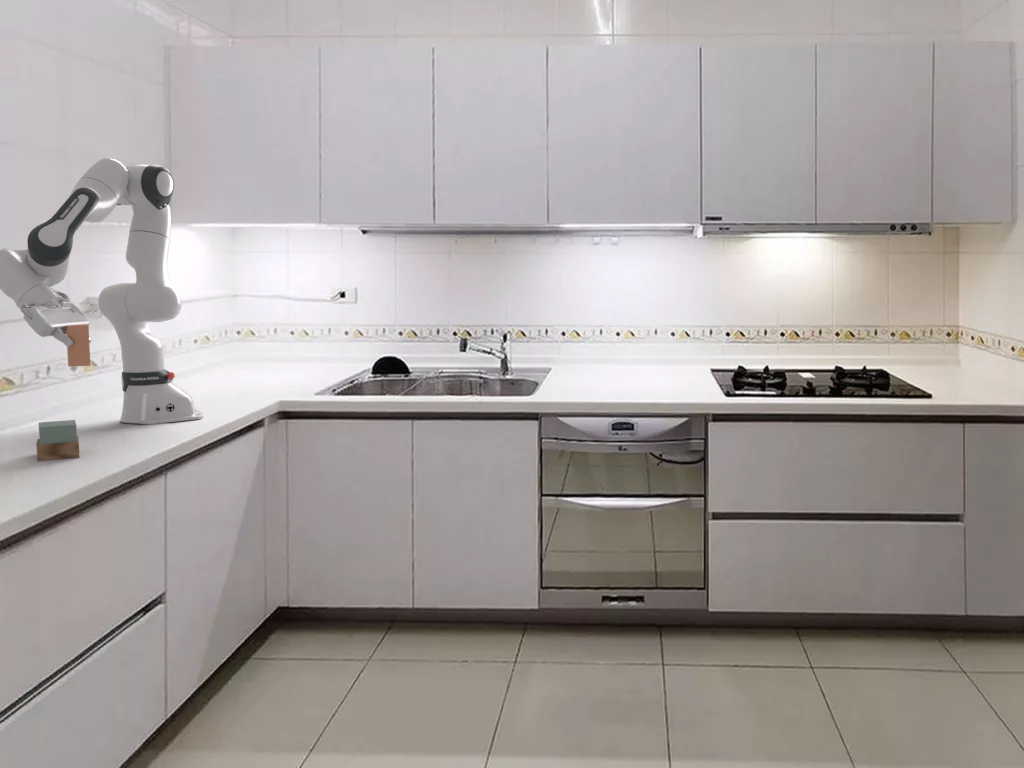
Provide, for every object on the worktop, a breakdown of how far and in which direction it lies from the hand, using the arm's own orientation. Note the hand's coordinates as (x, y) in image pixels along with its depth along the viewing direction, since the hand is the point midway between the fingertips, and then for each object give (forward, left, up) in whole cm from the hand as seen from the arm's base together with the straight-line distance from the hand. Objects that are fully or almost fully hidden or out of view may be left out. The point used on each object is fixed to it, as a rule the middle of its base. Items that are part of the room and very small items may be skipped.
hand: (80, 343), depth 260 cm
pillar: (+1, 0, -5) cm, 5 cm away
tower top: (+7, +13, -22) cm, 26 cm away
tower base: (+7, +13, -26) cm, 29 cm away
